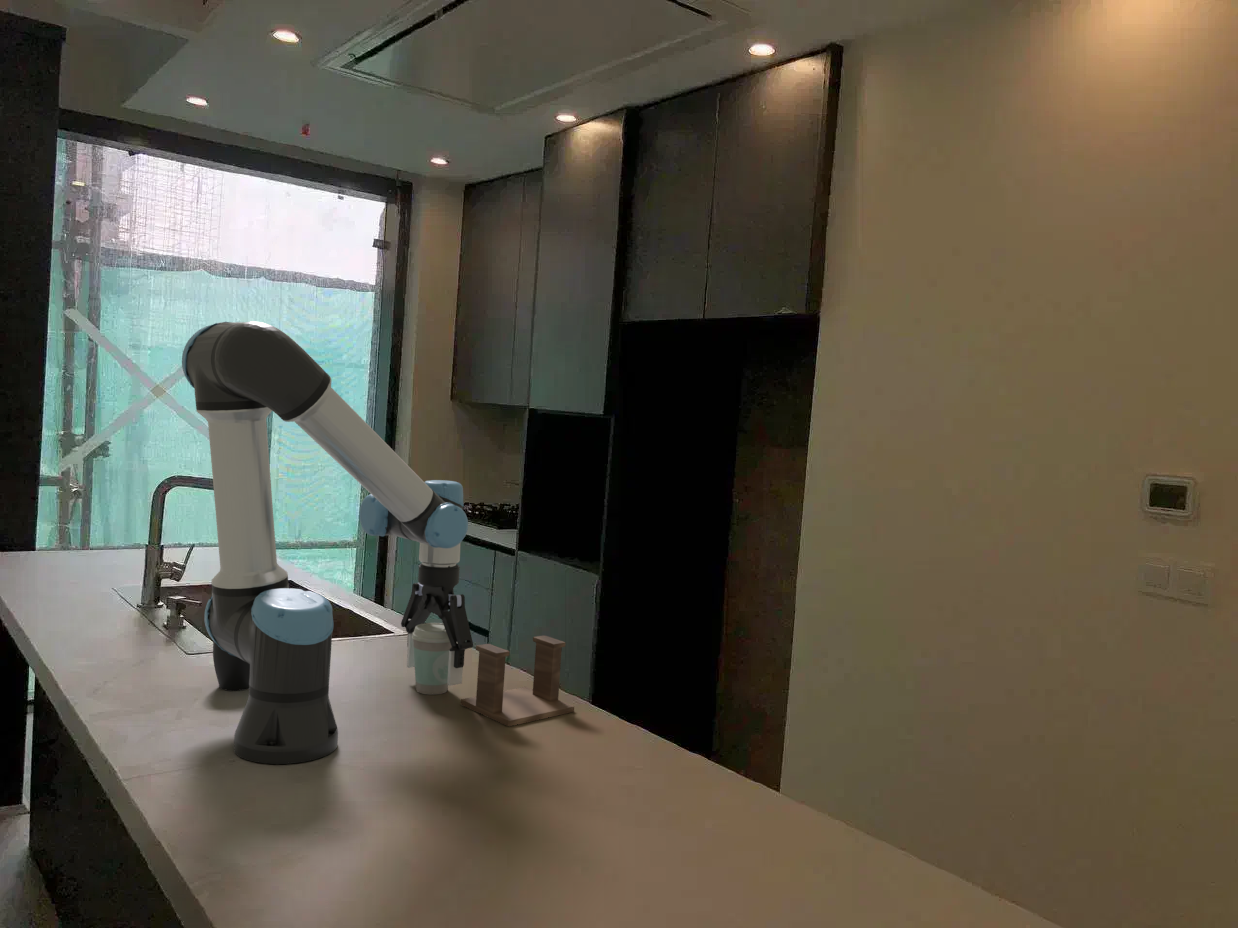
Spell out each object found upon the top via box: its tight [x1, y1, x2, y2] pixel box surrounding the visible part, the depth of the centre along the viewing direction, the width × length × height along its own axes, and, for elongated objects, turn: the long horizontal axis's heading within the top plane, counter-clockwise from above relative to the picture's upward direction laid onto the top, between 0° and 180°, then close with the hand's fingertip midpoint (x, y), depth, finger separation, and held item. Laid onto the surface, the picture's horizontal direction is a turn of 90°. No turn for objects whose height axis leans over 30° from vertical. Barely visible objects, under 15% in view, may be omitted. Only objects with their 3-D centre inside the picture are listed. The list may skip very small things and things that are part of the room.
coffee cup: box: [412, 622, 452, 696], centre depth 183 cm, size 9×8×12 cm
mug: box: [212, 640, 250, 692], centre depth 179 cm, size 8×12×10 cm
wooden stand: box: [460, 634, 575, 727], centre depth 176 cm, size 16×14×12 cm
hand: (433, 675), depth 184 cm, fingers open, 13 cm apart
